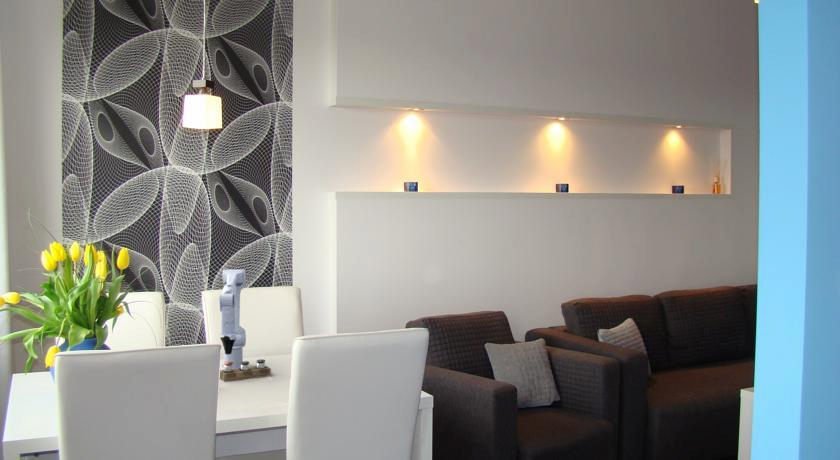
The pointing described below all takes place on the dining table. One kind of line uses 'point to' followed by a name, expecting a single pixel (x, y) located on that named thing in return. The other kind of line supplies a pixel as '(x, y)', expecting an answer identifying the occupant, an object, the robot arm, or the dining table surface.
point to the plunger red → (228, 367)
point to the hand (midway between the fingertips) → (228, 354)
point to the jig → (245, 373)
